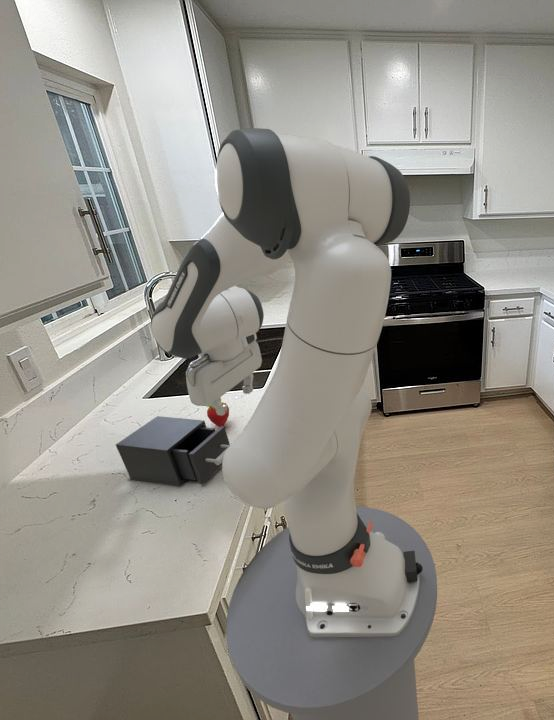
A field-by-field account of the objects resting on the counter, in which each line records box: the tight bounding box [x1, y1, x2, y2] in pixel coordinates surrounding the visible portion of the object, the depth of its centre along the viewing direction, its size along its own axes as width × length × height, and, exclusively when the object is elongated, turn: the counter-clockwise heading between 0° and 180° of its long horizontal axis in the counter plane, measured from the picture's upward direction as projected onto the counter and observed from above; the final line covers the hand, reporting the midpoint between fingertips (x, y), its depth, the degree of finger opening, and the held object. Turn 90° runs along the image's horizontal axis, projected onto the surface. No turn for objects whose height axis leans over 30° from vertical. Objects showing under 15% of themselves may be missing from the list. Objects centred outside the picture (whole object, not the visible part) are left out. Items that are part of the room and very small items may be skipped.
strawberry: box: [206, 400, 230, 428], centre depth 115 cm, size 6×8×10 cm
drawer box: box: [115, 415, 207, 487], centre depth 99 cm, size 15×13×11 cm
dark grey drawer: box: [170, 426, 231, 485], centre depth 97 cm, size 18×11×9 cm, turn 78°
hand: (236, 402), depth 87 cm, fingers open, 8 cm apart
